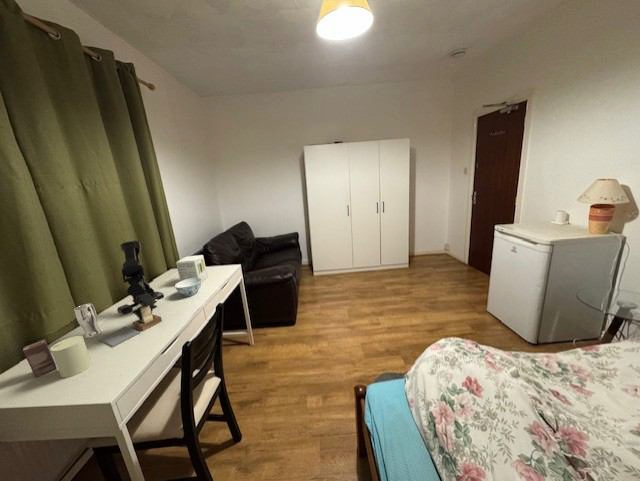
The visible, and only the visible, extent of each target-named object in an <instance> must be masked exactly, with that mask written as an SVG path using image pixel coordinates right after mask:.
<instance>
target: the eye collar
mask: <svg viewBox="0 0 640 481" xmlns="http://www.w3.org/2000/svg"><path fill="white" fill-rule="evenodd" d="M152 316H153V320H151V321H149V322H147V323H145V324H142V323H141V322H140V319H139V318H138V320H135V321H133V322H132V326H133V329H134V328H135V329H136V330H138V331H139V330H140V331H142V332H144V331H146V330H148V329H150V328H152V327H154V326H156V325H158V324H160V323H162V322H163V319H162V316H159V315H157V314H154V313H152Z"/></svg>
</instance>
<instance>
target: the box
mask: <svg viewBox="0 0 640 481" xmlns="http://www.w3.org/2000/svg"><path fill="white" fill-rule="evenodd" d="M22 349H23V350H22V352H23V354H24V356H25V358H26V360H27V362H28V365H29V367H30V370H31V372H32V373H33V375H34V378H38V377H40V376H44V375H45V374H47V373H50V372H52V371H54V370H57V369H58V367H57V364H56V362H55V359H54V357H53V354H52V352H51V351H50V349H51V348H49V345H48V342H47V340H46V339H41V340H39V341H37V342H33V343H31V344H29V345H26V346H24V347H23V348H22Z"/></svg>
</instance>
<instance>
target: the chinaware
mask: <svg viewBox="0 0 640 481" xmlns="http://www.w3.org/2000/svg"><path fill="white" fill-rule="evenodd" d="M201 286H202V283H201V278H190V279H186V280H183V281H178V282H176V283H175V285H174V287H175V290H176V291H177V292H178V293H180V294H182V295H184V296H186V297H191V296H194V295H196V294H197V292H198V291H199V290H200V288H201Z"/></svg>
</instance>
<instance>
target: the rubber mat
mask: <svg viewBox="0 0 640 481" xmlns="http://www.w3.org/2000/svg"><path fill="white" fill-rule="evenodd" d="M140 334H141V331H139V330H137V329H134V328H131V327H129V326H123V327H121V328H119V329H117V330H114V331H113V332H110V333H108V334H106V335H104V336H102V337H100V338H98V340H99V341H100V342H102V343H104V344H106V345H108V346H110V347H112V348H115V347H117V346H118V345H120V344H122V343H124V342H126V341H128V340H130V339H132V338H134V337H135V336H137V335H140Z"/></svg>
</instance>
